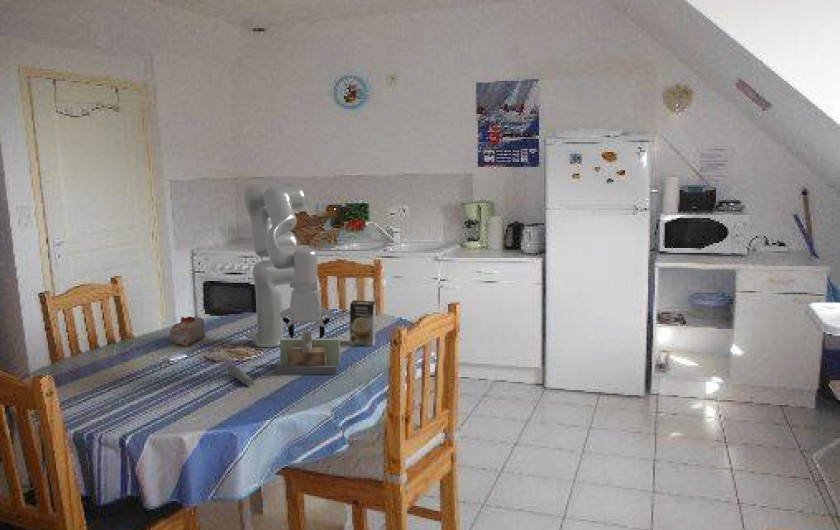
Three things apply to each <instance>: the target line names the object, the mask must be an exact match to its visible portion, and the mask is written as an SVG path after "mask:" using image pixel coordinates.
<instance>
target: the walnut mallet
mask: <svg viewBox="0 0 840 530" xmlns="http://www.w3.org/2000/svg"><path fill="white" fill-rule="evenodd" d="M301 339H302V347H291V348H290V350H289V351H288V365H318V366H328V365H327V347H312V339H313V338H312V330H304V331H303V332H302V334H301Z"/></svg>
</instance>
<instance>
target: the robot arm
mask: <svg viewBox="0 0 840 530" xmlns="http://www.w3.org/2000/svg"><path fill="white" fill-rule="evenodd" d="M243 200H244V201H243V202H244V206H245V210H246V211H247V214H248V216H249V219H250V224H251V232H252V233H251V234H252V242H253V249H254V254H256V256H257V257H261V258H269V259H268V260H267V259H266V260H262V261H258V262H257V263H255V264H254V265H253V268H252V278H253V282H254V289H255V301H256V302H255V304H256V305H255V306H256V329H257V330H256V331H254V332H252V331H246V333H245V337H246V338H247V339H253V343H252V344H253V345H254V346H256V347H259V348H277V347H280V339H281V338H286V339H288V338H287V337H285V336H284V323H285V325H286V326H288V335H289V337H290V338H289V339H294V336H295V324H294V323H295V322H296V323H318V324H319V325H320V326H319V339H323V337H324V336H325V334H326V333H325V331H326V330H325V329H326V325H327V324H328V323H329V322H330V321H331V319H332V317H333V314H334V312H332V311H330V310H328V309H326V308H324V307H323V304H322V297H321V291H320V289H318V288H319V287H318V286H319V285H318V252H317V251H316V249H313V248H312V247H311V246H309V245H306V244H298V241H297V237H296V235H295V233H294V232H292V230H293V229H294V228H295V227H296V225H297V223H298V222H297V221H298V219H297V216H296V213H295V212H294V210H300V209H303V208H304V206H305V204H306V196H305V193H304V190H303V189H302V188H301V187H300V186H299V185H296V184H293V183H289V182H276V183H274V182H272V183H268V182H266V183H265V182H264V183H263V182H262V183H253V184H250V185H248V186H247V187H245V189H244V192H243ZM281 285H282V286H283V285H289V288H292V289H293V290H291V294H290V303H289V304H290V307H288V308H286V309H283V297H282V295H281V293H280V291H279V290H278V289H277V287H276V286H281ZM287 314H289V318H290V319H289V318H288V317H287V316H286V315H287ZM323 314H325V315H327V316H326V318H325V319H324V318H323Z"/></svg>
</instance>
